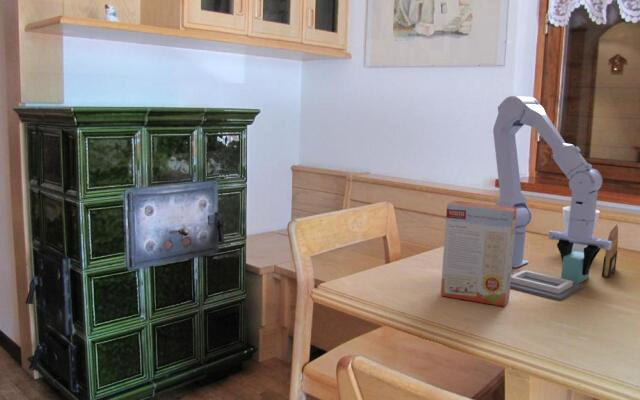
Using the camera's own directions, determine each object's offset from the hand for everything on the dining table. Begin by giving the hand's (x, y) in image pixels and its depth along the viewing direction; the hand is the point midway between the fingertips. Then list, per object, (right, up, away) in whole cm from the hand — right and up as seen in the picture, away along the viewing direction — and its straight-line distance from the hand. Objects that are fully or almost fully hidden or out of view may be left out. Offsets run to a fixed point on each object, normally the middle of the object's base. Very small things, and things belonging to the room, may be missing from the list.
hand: (575, 272), depth 154 cm
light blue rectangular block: (0, -2, 0) cm, 2 cm away
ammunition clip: (+12, -1, +7) cm, 14 cm away
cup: (+11, +2, +25) cm, 28 cm away
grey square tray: (-11, -2, -7) cm, 14 cm away
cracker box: (-30, -4, -17) cm, 35 cm away
